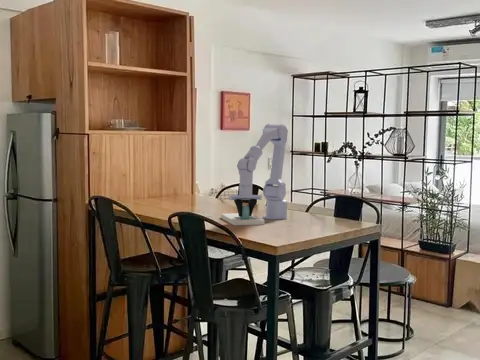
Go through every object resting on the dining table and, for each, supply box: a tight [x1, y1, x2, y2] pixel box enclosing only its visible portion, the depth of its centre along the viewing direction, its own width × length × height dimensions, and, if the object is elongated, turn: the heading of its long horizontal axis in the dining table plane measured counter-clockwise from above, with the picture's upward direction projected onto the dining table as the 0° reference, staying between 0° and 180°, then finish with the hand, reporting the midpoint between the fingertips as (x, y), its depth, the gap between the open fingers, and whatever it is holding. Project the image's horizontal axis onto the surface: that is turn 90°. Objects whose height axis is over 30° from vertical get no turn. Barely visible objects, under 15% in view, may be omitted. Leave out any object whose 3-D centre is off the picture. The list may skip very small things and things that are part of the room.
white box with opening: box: [220, 212, 265, 226], centre depth 244 cm, size 14×20×6 cm
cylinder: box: [240, 204, 250, 220], centre depth 240 cm, size 4×4×6 cm
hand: (244, 216), depth 240 cm, fingers closed on cylinder, 4 cm apart
